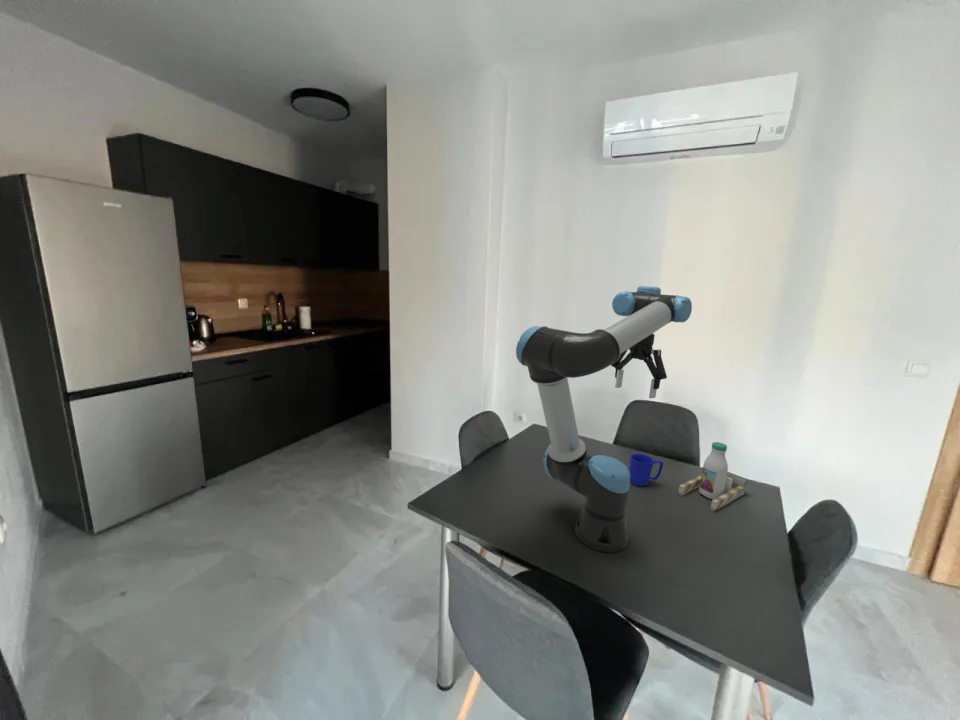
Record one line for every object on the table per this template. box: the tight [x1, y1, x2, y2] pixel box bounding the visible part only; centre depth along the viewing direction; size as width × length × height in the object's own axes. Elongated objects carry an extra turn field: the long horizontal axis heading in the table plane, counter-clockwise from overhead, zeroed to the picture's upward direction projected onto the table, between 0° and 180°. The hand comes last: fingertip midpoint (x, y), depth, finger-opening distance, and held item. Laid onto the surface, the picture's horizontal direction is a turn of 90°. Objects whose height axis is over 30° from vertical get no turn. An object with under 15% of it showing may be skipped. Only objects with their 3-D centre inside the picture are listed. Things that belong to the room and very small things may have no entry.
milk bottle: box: [698, 441, 729, 498], centre depth 147 cm, size 8×8×20 cm
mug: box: [629, 453, 664, 487], centre depth 155 cm, size 8×12×10 cm
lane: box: [677, 471, 749, 510], centre depth 149 cm, size 22×13×6 cm, turn 125°
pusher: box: [724, 477, 733, 493], centre depth 152 cm, size 4×9×7 cm, turn 35°
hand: (634, 392), depth 143 cm, fingers open, 13 cm apart
